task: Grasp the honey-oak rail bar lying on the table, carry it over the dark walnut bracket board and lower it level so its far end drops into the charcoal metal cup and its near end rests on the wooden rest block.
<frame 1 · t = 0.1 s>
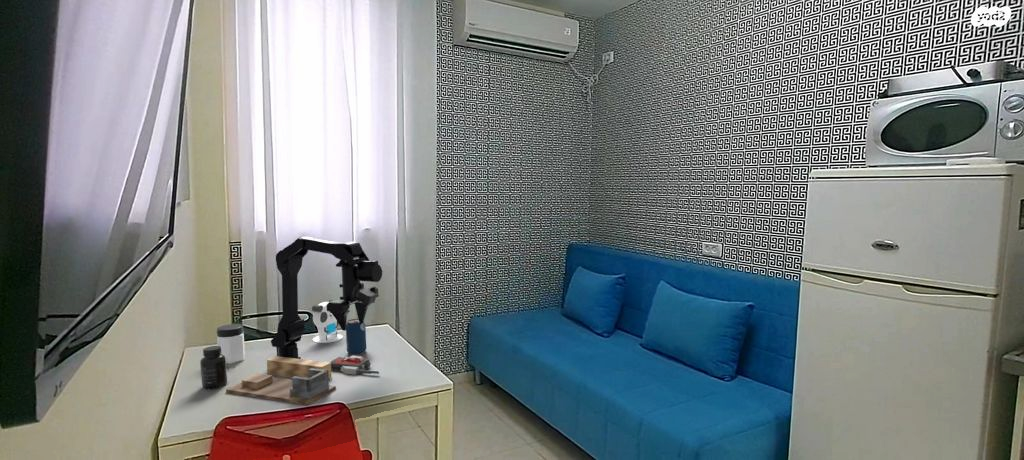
hand: (353, 326, 170), 15 cm above the table, fingers open, 9 cm apart
panda figurine: (327, 339, 206), on the table
jar: (232, 360, 183), on the table
supplement bottle: (214, 386, 159), on the table
oak rail: (299, 376, 167), on the table
soda can: (356, 353, 189), on the table
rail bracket: (281, 390, 154), on the table
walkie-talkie: (357, 371, 171), on the table
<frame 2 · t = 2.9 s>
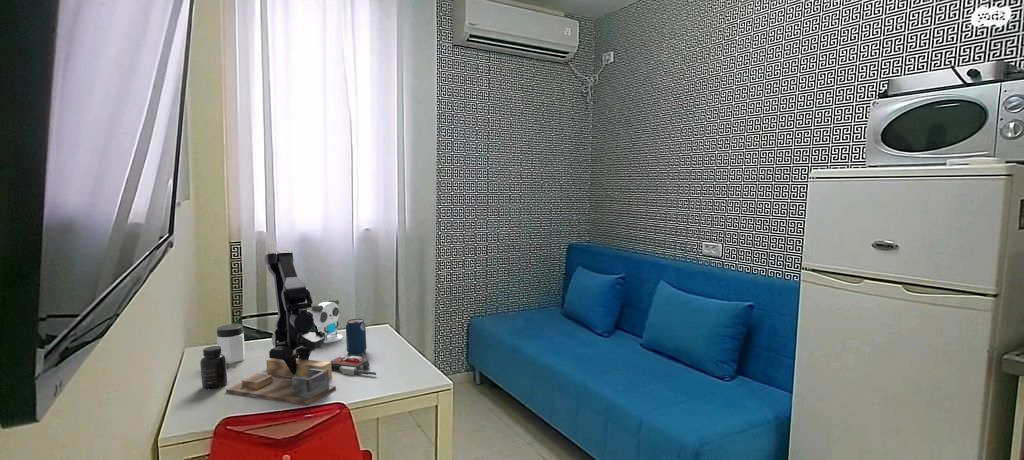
hand: (299, 371, 167), 1 cm above the table, fingers closed on oak rail, 4 cm apart
oak rail: (299, 376, 167), on the table, touching gripper
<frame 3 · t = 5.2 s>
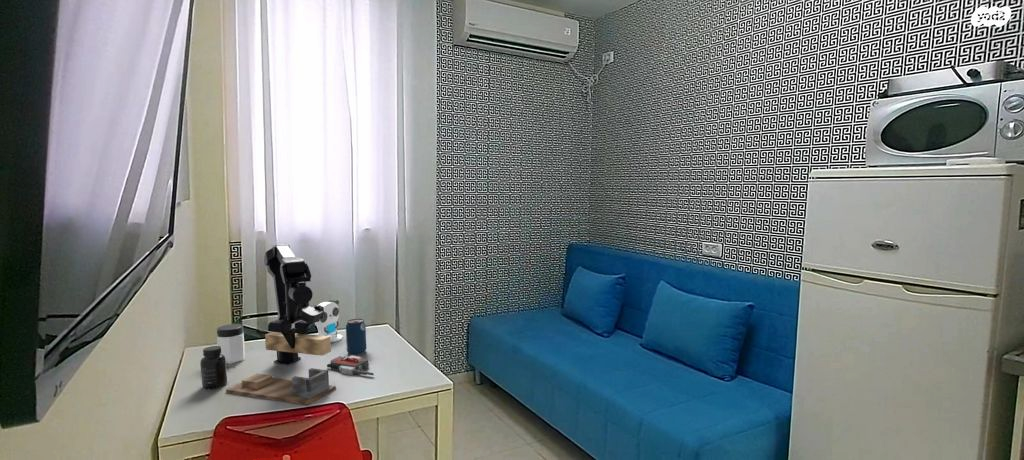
hand: (297, 346, 166), 10 cm above the table, fingers closed on oak rail, 4 cm apart
oak rail: (298, 350, 166), point 8 cm above the table, touching gripper
everything else where it was.
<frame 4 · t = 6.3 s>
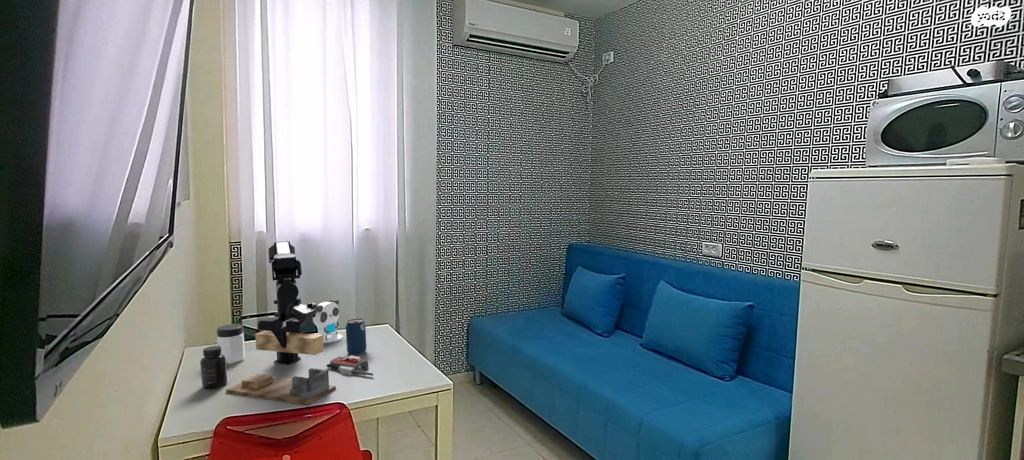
hand: (289, 345, 159), 12 cm above the table, fingers closed on oak rail, 4 cm apart
oak rail: (289, 350, 159), point 10 cm above the table, touching gripper
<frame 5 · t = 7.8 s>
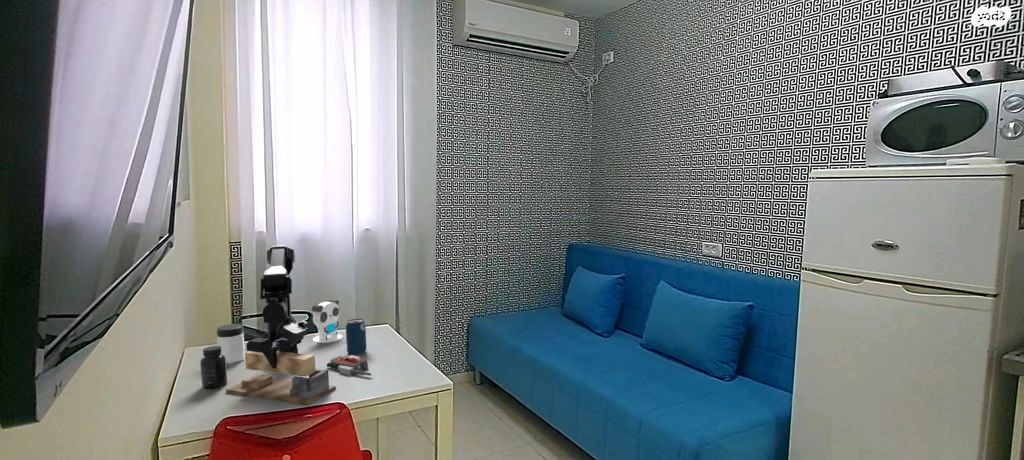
hand: (280, 365, 153), 8 cm above the table, fingers closed on oak rail, 4 cm apart
oak rail: (280, 370, 154), point 6 cm above the table, touching gripper
when the fingers open (6 cm above the table, at t = 9.0 s): oak rail drops 1 cm, resting on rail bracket.
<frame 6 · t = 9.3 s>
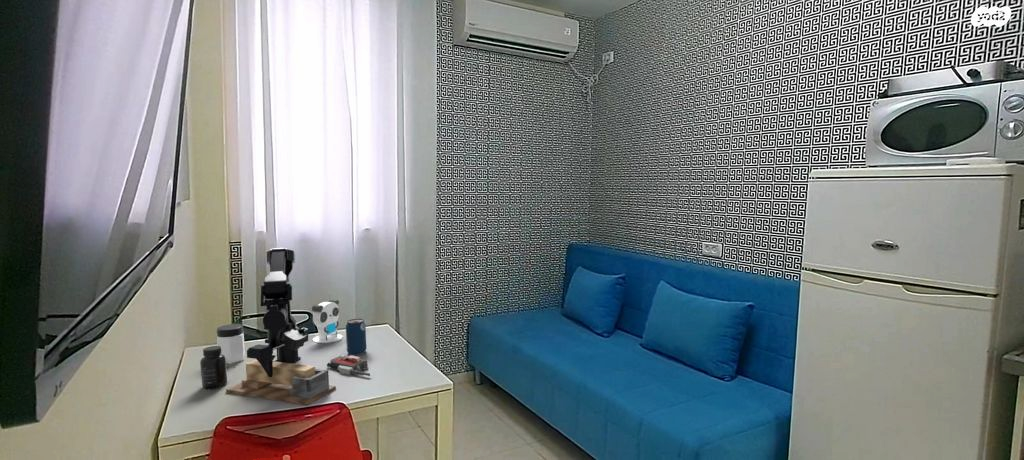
hand: (280, 372, 154), 6 cm above the table, fingers open, 7 cm apart
oak rail: (280, 381, 154), point 3 cm above the table, touching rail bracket
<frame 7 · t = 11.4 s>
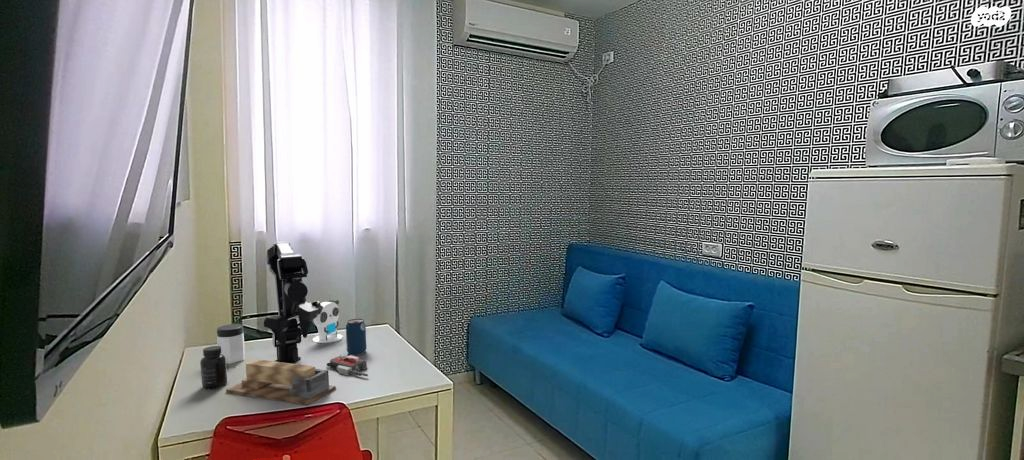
hand: (294, 341, 164), 12 cm above the table, fingers open, 9 cm apart
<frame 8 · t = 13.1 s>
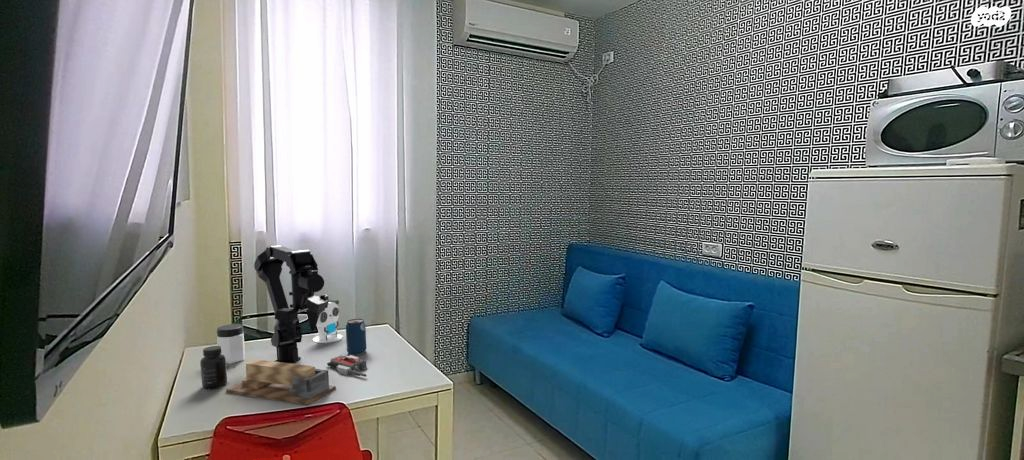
hand: (303, 334, 171), 12 cm above the table, fingers open, 9 cm apart
at the end: oak rail 0.0 cm off-centre on the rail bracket, point 3.0 cm above the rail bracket's base; oak rail tilted 0°; the gripper is holding nothing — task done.
